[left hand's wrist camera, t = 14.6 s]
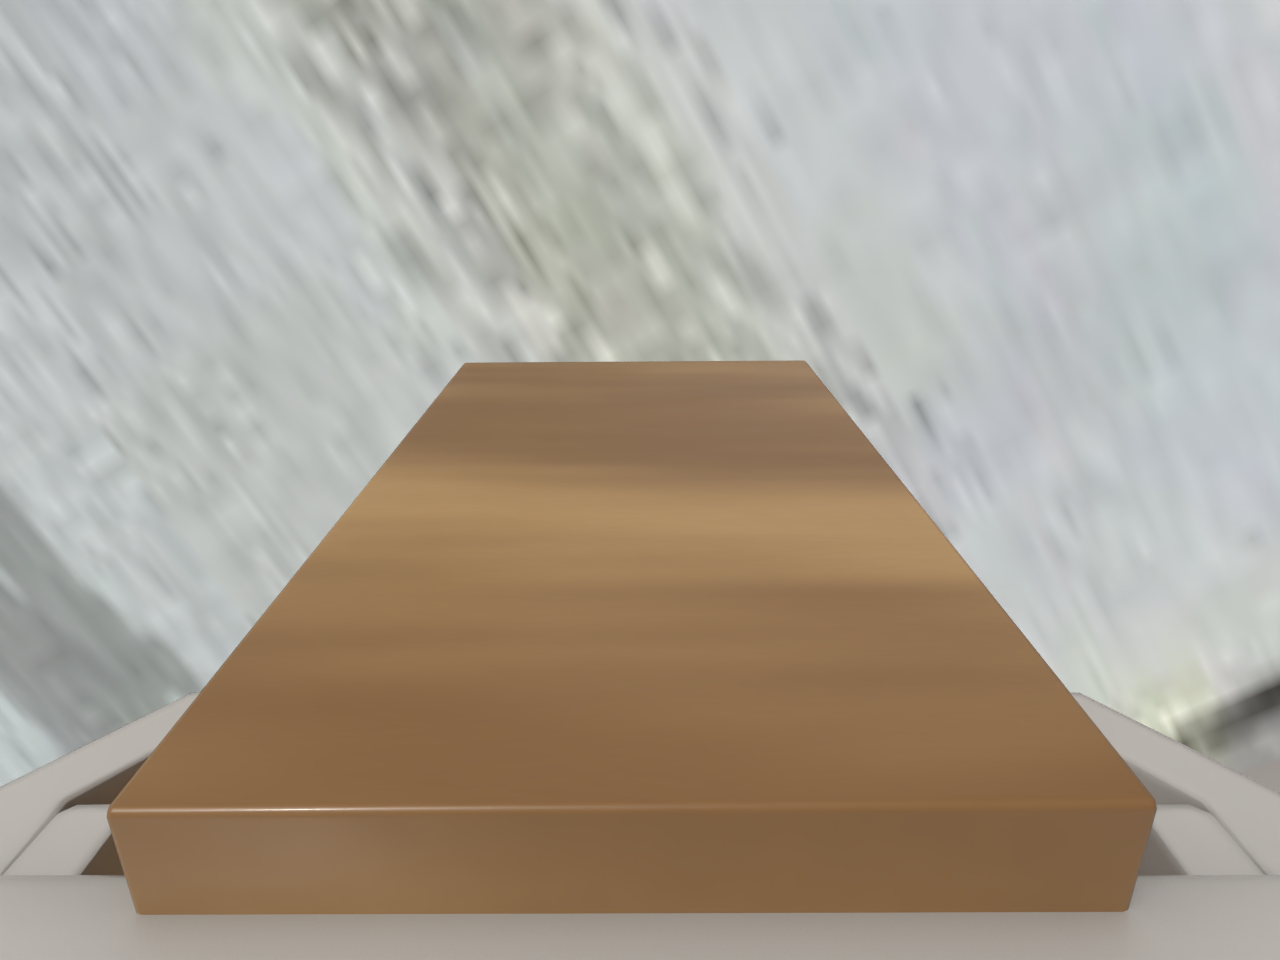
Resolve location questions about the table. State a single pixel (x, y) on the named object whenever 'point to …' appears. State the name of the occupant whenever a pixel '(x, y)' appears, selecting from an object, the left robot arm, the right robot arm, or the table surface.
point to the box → (633, 683)
